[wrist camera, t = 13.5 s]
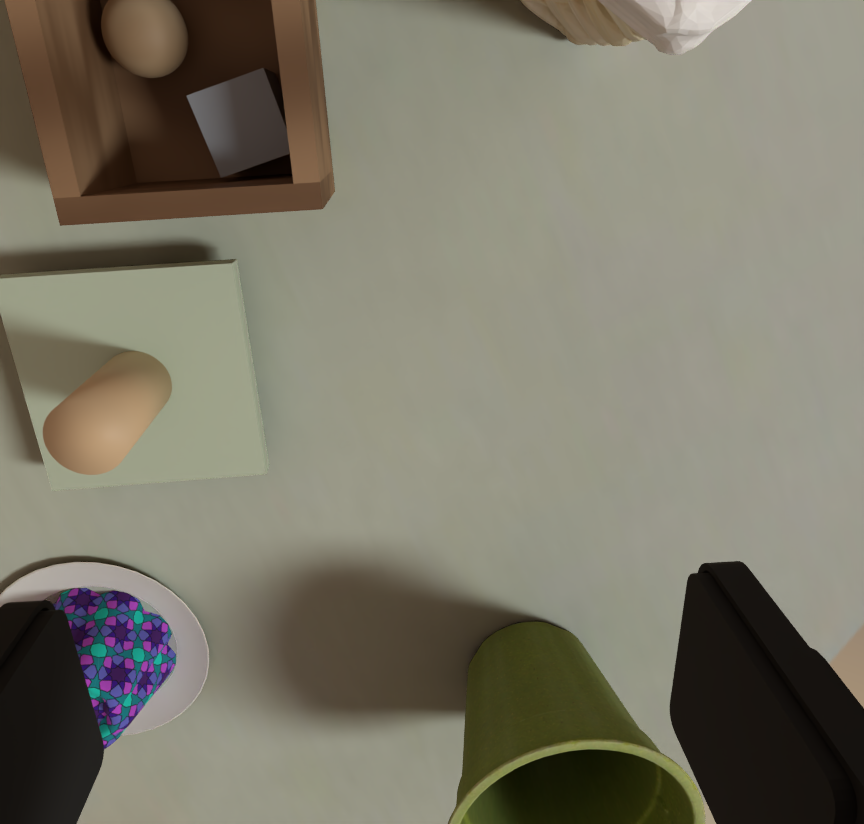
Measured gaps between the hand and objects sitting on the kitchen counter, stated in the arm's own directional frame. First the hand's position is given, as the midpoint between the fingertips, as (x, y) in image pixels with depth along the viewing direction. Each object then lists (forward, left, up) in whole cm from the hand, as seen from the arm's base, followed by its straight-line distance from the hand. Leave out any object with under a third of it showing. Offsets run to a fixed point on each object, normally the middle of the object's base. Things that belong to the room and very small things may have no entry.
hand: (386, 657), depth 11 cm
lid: (+3, -11, -24) cm, 27 cm away
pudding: (+19, -17, -25) cm, 35 cm away
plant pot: (+23, +7, -25) cm, 34 cm away
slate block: (-8, -5, -23) cm, 25 cm away
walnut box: (-9, -6, -24) cm, 27 cm away
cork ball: (-11, -8, -23) cm, 27 cm away
